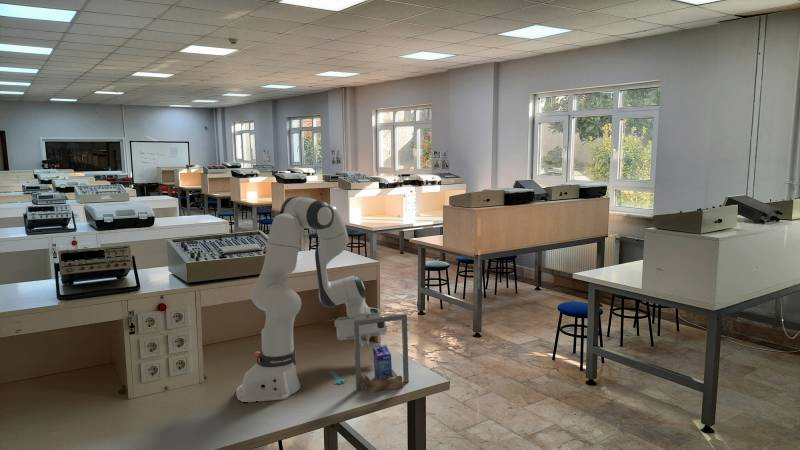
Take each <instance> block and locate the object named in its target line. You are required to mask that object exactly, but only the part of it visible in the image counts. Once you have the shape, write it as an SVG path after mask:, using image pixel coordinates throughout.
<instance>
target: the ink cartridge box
mask: <svg viewBox="0 0 800 450" xmlns="http://www.w3.org/2000/svg"><path fill="white" fill-rule="evenodd" d="M372 353H373V354H372V355H373V370H374V378H375V379H374V380H379V379H385V378H390V377H392V370H393V365H392V364H393V363H392V354H391V352H390V350H389V348H388V346H387V345H385V344H384V345H379V343H376V345H374V346H372Z"/></svg>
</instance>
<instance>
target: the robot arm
mask: <svg viewBox="0 0 800 450" xmlns="http://www.w3.org/2000/svg"><path fill="white" fill-rule="evenodd" d="M270 226H271V227H270V229H269V232H268V237H267V243H266V249H265V255H264V261H263V265H262V269H261V272H260V273H259V276H258V279H257V281H256V282H255V283H254V284H253V285H252V287H251V290H250V294H249V296H250V300H251V301H252V303H253V304H254V305H255V306H256V307H257V309H259V310H261V311H264V313H265V320H264V321H265V322H264V326H263V328H262V329H261V332H260V334H261V336H260V337H261V338H260V339H261V352H260V351H258V350H257V351H255V352H254V356H255V358H256V362H257V363H255V365H253V366H252V367H251V368H250V369H249V370H247V371H246V372H245V374H244V375H243V378H242V381H241V382H242V383H241V384H240V385H239V386H238V387H236V392H235V396H237V397H236V399H237V398H238V399H237V400H238V401H239V400H240V401H242V402H248V403H256V401H258V402H268V401H279V400H286V399H288V398H289V397H290V396H291V395H293V394H295V393H296V392H298V391H299V390H300V389H301V383H300V380H299V377H298V373H297V367H296V364H297V355H296V349H295V346H294V345H295V344H294V324H295V319H296V317H297V314H299V312H300V311H301V307H302V299H301V297H300V295H299V294H298V293H297V292H296V291H295V290H294V289H293V288H291V287H290V286H287V283H288V279H289V278H290V276H291V274H292V273H293V272H294V271H295V269H296V268H297V263H298V255H299V249H300V242H301V234H302V231H303V230H304V229H310V230H312V229H313V230H316V233H317V236H318V239H319V240H318V241H319V242H318V246H317V248H316V249H315V251H314V261H315V270H316V277H317V284H318V298H319V301H320V303H321V305H322V306H323V307H325V308H329V309H332V308H334V307H337V306H339V305H341V304H343V305H344V304H345V308H346V309H345V311H346V316H342V317H337V318H336V319H335V320H334V321H333V322H334V323H333V324H334V327H335V328H336V339H337V340H338V341H345V340H354V325H353V321H354V320H362V319H369V318H377V317H384V316H383V315H381V309H379V308H375V307H369V306H368V304H367V303H366V297H367V291H366V285H365V282H364V280H363V278H361V277H359V276H358V275H350V276H345V277H343V278H339V279H336V280H333V281H329V278H328V272H327V266H328V264H329V263H330V262H331V261H332V260H333V259H335V258H336V257H338V256H339V255H341V254H342V253H343V252H344V251H345V250H346V248H347V246H348V244H349V233H348V231H347V227H346V223H345V222H344V219H343V217H342V215H341V213H340V211H339V209H338V208H337V206H335V205H333V204H329V203H328V202H326V201H323V200H321V199H320V200H319V199H314V198H311V197H304V196H291V197H288V198H287V199H285V200H284V201H283V203H282V204H281V207H280V211H279V214H277V215H276V216H274V218H273V220H272V223H271V225H270ZM387 331H388V326H387V322H384V328H377V323H373V324H366V325H359V344H360V345H361V346H360V347H361V348H367V347H368V348H369V347H370V338H371V337H378V336H384V335H386V334H387ZM362 338H365V341H364V340H363V339H362ZM240 401H239V402H240ZM242 402H241V403H242ZM258 402H257V403H258Z"/></svg>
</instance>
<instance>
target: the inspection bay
mask: <svg viewBox="0 0 800 450" xmlns="http://www.w3.org/2000/svg"><path fill="white" fill-rule="evenodd" d="M361 383H362V384H363V385H364V387H365V388H366V390H367V391H368V393H369V394H370V395H371V394H377V393H381V392H388V391H393V390H399V389H403V377H402V375H397V373H396V372H395V371H394V370H393V369H392V377H390V378H385V379H379V380H376V379H373V380H370V378H369V377H368V375H366V373H365V371H361Z"/></svg>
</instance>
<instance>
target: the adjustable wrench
mask: <svg viewBox="0 0 800 450" xmlns="http://www.w3.org/2000/svg"><path fill="white" fill-rule="evenodd" d="M328 371H329V373H330V374H331V376H332V377H333V378H334V379H335V382H333V385H340V386H341V385H342V384H345V383H346V382H347V379H346V378H341V377H340V376H339V375H338V374H337V373H336V372H335V371H334V369H333V370H332V369H331V370H328Z"/></svg>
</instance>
